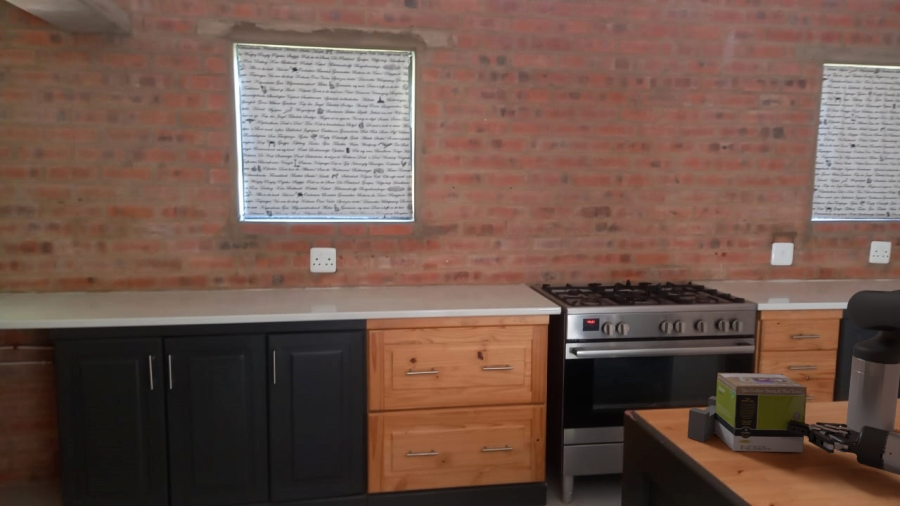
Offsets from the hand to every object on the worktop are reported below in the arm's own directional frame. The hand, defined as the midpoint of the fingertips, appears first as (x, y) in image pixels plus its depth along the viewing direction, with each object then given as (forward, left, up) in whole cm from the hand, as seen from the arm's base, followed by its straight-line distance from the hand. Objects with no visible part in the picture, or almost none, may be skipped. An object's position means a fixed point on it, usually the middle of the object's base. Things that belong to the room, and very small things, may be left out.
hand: (788, 425), depth 124 cm
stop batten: (0, -16, -6) cm, 17 cm away
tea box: (-2, -6, -7) cm, 9 cm away
